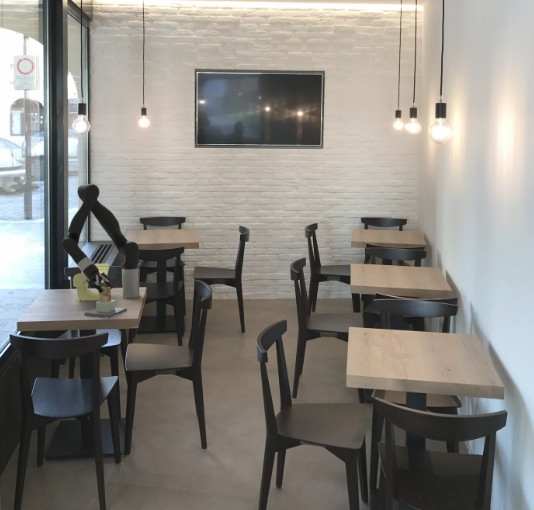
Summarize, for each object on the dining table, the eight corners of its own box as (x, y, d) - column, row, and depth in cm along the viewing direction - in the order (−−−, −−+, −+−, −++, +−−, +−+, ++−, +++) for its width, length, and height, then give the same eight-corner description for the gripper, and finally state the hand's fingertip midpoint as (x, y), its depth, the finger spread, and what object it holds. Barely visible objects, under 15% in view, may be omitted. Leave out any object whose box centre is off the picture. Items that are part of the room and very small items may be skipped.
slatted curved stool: (84, 292, 435) (82, 264, 432) (110, 292, 436) (109, 263, 433) (74, 304, 406) (72, 273, 403) (103, 303, 407) (101, 273, 404)
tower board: (102, 308, 396) (102, 296, 395) (127, 311, 390) (126, 299, 389) (84, 315, 381) (83, 303, 380) (109, 318, 375) (108, 305, 374)
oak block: (104, 300, 387) (103, 286, 386) (111, 300, 385) (110, 287, 384) (99, 301, 383) (98, 288, 382) (106, 302, 381) (105, 288, 380)
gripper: (83, 265, 377) (102, 288, 375) (100, 261, 390) (118, 283, 388) (76, 274, 380) (94, 297, 378) (92, 269, 393) (110, 292, 391)
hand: (106, 290), depth 383 cm, fingers open, 8 cm apart
